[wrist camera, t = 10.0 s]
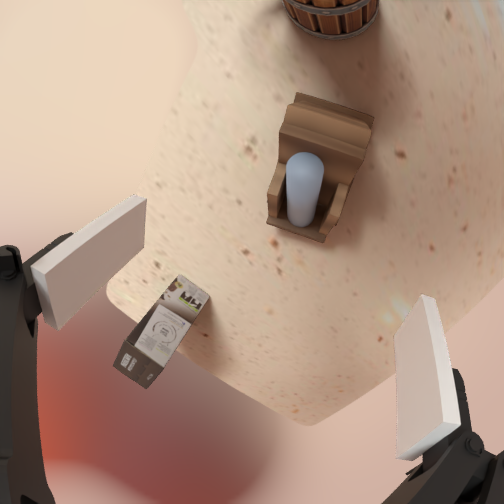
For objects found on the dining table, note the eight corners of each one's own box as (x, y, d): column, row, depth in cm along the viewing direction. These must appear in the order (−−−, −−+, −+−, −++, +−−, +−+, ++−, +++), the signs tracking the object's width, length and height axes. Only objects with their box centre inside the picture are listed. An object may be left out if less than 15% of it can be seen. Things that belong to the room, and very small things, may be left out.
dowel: (291, 198, 39) (291, 148, 27) (317, 205, 38) (327, 157, 26) (283, 223, 38) (281, 180, 26) (310, 230, 38) (319, 190, 26)
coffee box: (178, 272, 51) (124, 338, 38) (211, 296, 52) (165, 368, 38) (159, 303, 56) (110, 365, 43) (188, 324, 57) (145, 391, 43)
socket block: (298, 92, 34) (277, 94, 24) (373, 116, 33) (385, 130, 23) (265, 211, 42) (236, 257, 32) (331, 234, 41) (323, 287, 31)
